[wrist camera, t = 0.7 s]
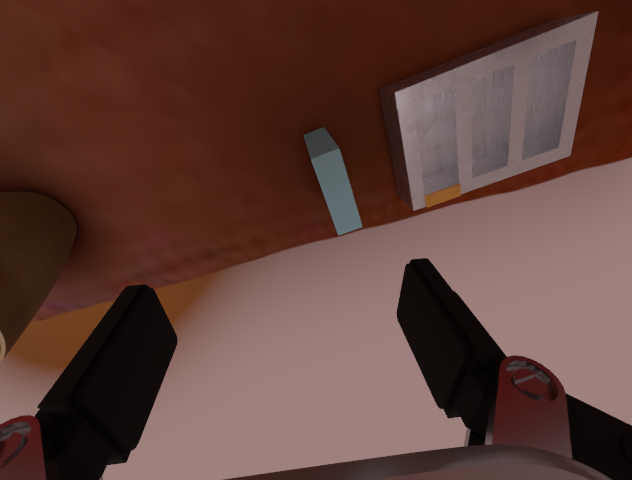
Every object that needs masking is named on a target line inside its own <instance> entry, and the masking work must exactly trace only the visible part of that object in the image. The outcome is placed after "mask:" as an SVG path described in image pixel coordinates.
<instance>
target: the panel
mask: <svg viewBox="0 0 632 480" xmlns="http://www.w3.org/2000/svg"><path fill="white" fill-rule="evenodd" d="M303 136H304V139H305V142H306V145H307V149H308V152H309V155H310V158H311V161H312V164H313V167H314V169H315V172H316V175H317V178H318V180H319V183H320V186H321V189H322V192H323V194H324V197H325V200H326V203H327V205H328V208H329V211H330V214H331V216H332V219H333V222H334V225H335V227H336V230H337V233H338V235H341V234H344V233H347V232H350V231H352V230H355V229H358V228H361V227H362V223H361V220H360V216H359V213H358V210H357V206H356V203H355V199H354V196H353V193H352V189H351V186H350V182H349V179H348V176H347V172H346V169H345V165H344V162H343V159H342V155H341V152H340V148H339V147H338V146H337V144H336V143H335V141H334V140H333V139H332V137H331V136H330V135H329V133H328V132H327V131H326V129H325V128H324V127H322V128H320V129H317V130H315V131H312V132H310V133H307V134H305V135H303Z"/></svg>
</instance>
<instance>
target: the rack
mask: <svg viewBox="0 0 632 480" xmlns="http://www.w3.org/2000/svg"><path fill="white" fill-rule="evenodd" d="M597 17H598V11H597V12H592V13H587V14H582V15H576V16H571V17H566V18H561V19H556V20H551V21H547V22H545V23H542V24H540V25H537V26H535V27H532V28H530V29H527V30H525V31H523V32H520V33H518V34H515V35H513V36H510V37H508V38H505V39H503V40H500V41H498V42H495V43H493V44H490V45H488V46H485V47H483V48H480V49H478V50H475V51H473V52H470V53H468V54H465V55H463V56H460V57H458V58H456V59H453V60H451V61H448V62H446V63H443V64H441V65H438V66H436V67H433V68H431V69H428V70H426V71H423V72H421V73H418V74H416V75H413V76H411V77H408V78H406V79H403V80H401V81H398V82H396V83H394V84H391V85H389V86H386V87H384V88H381V89H379V96H380V101H381V106H382V112H383V117H384V122H385V127H386V133H387V138H388V143H389V149H390V154H391V159H392V165H393V170H394V175H395V181H396V186H397V191H398V195H399V196H400V197H401V198H402V199H403V200H404V201H405V202H406V203H407V204H408V206H409V207H410V208H411V209H412V210H413V211H415V210H417V209H420V208H423V207H430V206H433V205H436V204H439V203H442V202H444V201H447V200H450V199H453V198H456V197H459V196H461V194H463V193H466V192H469V191H471V190H474V189H477V188H480V187H483V186H486V185H488V184H491V183H494V182H497V181H500V180H503V179H505V178H508V177H511V176H514V175H517V174H520V173H522V172H525V171H528V170H531V169H534V168H537V167H539V166H542V165H545V164H548V163H551V162H554V161H556V160H559V159H562V158H565V157H568V156H570V155H571V150H572V145H573V139H574V134H575V129H576V124H577V119H578V114H579V109H580V104H581V99H582V93H583V88H584V83H585V78H586V73H587V68H588V63H589V58H590V52H591V47H592V42H593V37H594V32H595V27H596V22H597Z"/></svg>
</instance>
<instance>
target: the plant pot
mask: <svg viewBox="0 0 632 480" xmlns="http://www.w3.org/2000/svg"><path fill="white" fill-rule="evenodd" d="M76 233H77V225H76V222H75V220H74V218H73V216H72V215H71V213H70V212H69V211H68V210H67V209H66V208H65V207H64V206H62V205H61V204H60V203H58V202H57V201H55V200H53V199H52V198H50V197H47V196H45V195H42V194H39V193H35V192H28V191H20V192H0V362H1V361H2V360H3V358H4V357H5V356H6V354H7V353H8V352H9V351H10V349H11V348H12V347H13V345H14V344H15V342H16V341H17V340H18V338H19V337H20V336H21V334H22V333H23V331H24V330H25V328H26V327H27V326H28V324H29V323H30V322H31V320H32V319H33V317H34V316H35V315H36V313H37V311H38V310H39V308H40V307H41V305H42V304H43V302H44V301H45V299H46V297H47V296H48V294H49V293H50V291H51V289H52V288H53V286H54V284H55V282H56V280H57V278H58V276H59V275H60V273H61V271H62V269H63V267H64V265H65V262H66V260H67V258H68V256H69V253H70V250H71V248H72V245H73V243H74V240H75V237H76Z"/></svg>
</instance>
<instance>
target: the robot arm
mask: <svg viewBox="0 0 632 480" xmlns="http://www.w3.org/2000/svg"><path fill="white" fill-rule="evenodd" d="M397 319H398V322H399V324H400V326H401V328H402V330H403V333H404V335H405V337H406V339H407V341H408V343H409V346H410V348H411V350H412V352H413V354H414V356H415V358H416V361H417V363H418V365H419V367H420V369H421V371H422V374H423V376H424V378H425V380H426V383H427V385H428V387H429V389H430V391H431V393H432V396H433V398H434V400H435V402H436V404H437V406H438V407H439V408H441V409H444V411H445V413H446V415H447V417H448V418H454V417H461V418H462V420H463V422H464V424H465V426H466V427H467V432H466V437H465V443H464V447H457V448H448V449H440V450H431V451H423V452H414V453H407V454H401V455H393V456H386V457H378V458H371V459H364V460H357V461H350V462H343V463H335V464H328V465H321V466H315V467H307V468H301V469H294V470H287V471H280V472H273V473H266V474H259V475H252V476H246V477H239V478H232V479H225V480H632V426H631V425H629V424H627V423H625V422H623V421H621V420H619V419H617V418H615V417H613V416H611V415H609V414H607V413H605V412H603V411H601V410H599V409H597V408H594V407H592V406H590V405H588V404H586V403H584V402H582V401H580V400H578V399H576V398H574V397H572V396H570V395H568V394H566V393H565V390H564V387H563V386H562V384H561V382H560V381H559V379H558V378H557V377H556V376H555V375H554V374H553V373H552V372H551V371H550V370H549V369H547V368H546V367H544V366H543V365H542V364H540V363H538V362H536V361H534V360H532V359H529V358H526V357H523V356H510V357H506V355H505V354H504V353H503V351H502V350H501V349H500V347H499V346H498V345H497V344H496V342H495V341H494V340H493V339H492V337H491V336H490V335H489V333H488V332H487V331H486V330H485V328H484V327H483V326H482V325H481V323H480V322H479V321H478V319H477V318H476V317H475V316H474V315H473V313H472V312H471V311H470V309H469V308H468V307H467V306H466V304H465V303H464V302H463V300H462V299H461V298H460V297H459V295H457V293H456V292H454V291H453V290H452V289H451V288H450V286H449V285H448V284H447V283H446V281H445V280H444V279H443V277H442V276H441V275H440V273H439V272H438V271H437V270H436V268H435V267H434V266H433V264H432V263H431V262H430V261H429V260H428V259H427V258H423V259H413V260H411V261H410V263H409V264H406V266H405V271H404V276H403V282H402V287H401V292H400V298H399V303H398V309H397ZM176 345H177V336H176V333H175V331H174V329H173V327H172V325H171V323H170V321H169V319H168V317H167V315H166V313H165V311H164V309H163V307H162V305H161V303H160V301H159V299H158V297H157V295H156V293H155V291H154V289H152V288H149V286H147V285H134V286H127V287H126V288H125V289H124V290H123V291H122V292H121V294H120V295H119V297H118V298H117V299H116V301H115V302H114V303H113V305H112V306H111V307H110V309H109V310H108V312H107V313H106V314H105V316H104V317H103V318H102V320H101V321H100V322H99V324H98V325H97V327H96V328H95V329H94V331H93V332H92V333H91V335H90V336H89V337H88V339H87V340H86V341H85V343H84V344H83V346H82V347H81V348H80V350H79V351H78V353H77V354H76V355H75V357H74V358H73V359H72V361H71V362H70V363H69V365H68V366H67V367H66V369H65V370H64V372H63V373H62V374H61V375H60V377H59V378H58V380H57V381H56V382H55V384H54V385H53V386H52V388H51V389H50V390H49V392H48V393H47V394H46V396H45V397H44V399H43V400H42V401H41V403H40V404H39V405H38V408H39V409H40V410H39V411H38V412H37V414H36V415H35V417H33V416H31V415H28V416H19V417H16V418H13V419H10V420H8V421H6V422H4V423H3V424H0V480H103V478H102V475H103V472H104V470H105V468H106V466H107V465H111V464H119V463H125V462H127V459H128V457H129V454H130V452H131V450H133V449H135V448H136V446H137V445H138V443H139V440H140V437H141V435H142V433H143V430H144V427H145V425H146V422H147V420H148V417H149V415H150V412H151V410H152V407H153V405H154V402H155V399H156V397H157V394H158V392H159V389H160V387H161V384H162V382H163V379H164V376H165V374H166V371H167V369H168V366H169V364H170V361H171V358H172V356H173V353H174V351H175V348H176Z"/></svg>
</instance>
